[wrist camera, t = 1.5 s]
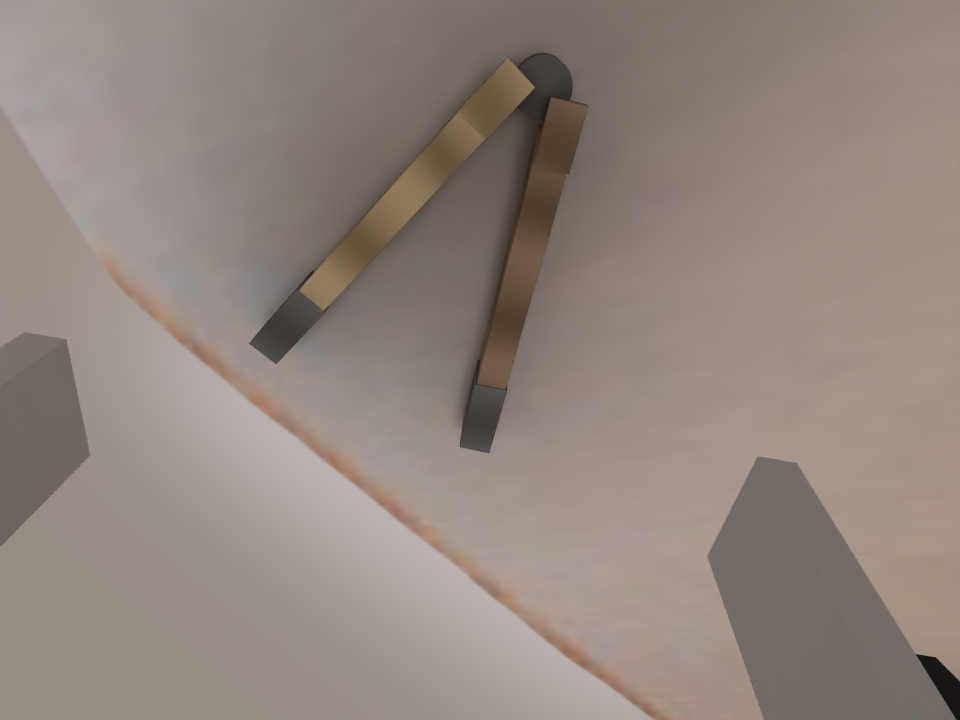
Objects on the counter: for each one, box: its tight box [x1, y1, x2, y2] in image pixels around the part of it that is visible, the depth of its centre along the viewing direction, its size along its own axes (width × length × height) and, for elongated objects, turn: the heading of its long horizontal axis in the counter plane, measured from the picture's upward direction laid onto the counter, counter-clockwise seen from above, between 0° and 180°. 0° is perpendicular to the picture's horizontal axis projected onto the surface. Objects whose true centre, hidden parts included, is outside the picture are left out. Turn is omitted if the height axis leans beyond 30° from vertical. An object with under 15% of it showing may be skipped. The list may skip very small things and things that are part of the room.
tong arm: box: [249, 57, 535, 364], centre depth 33 cm, size 22×2×4 cm, turn 136°
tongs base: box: [460, 53, 588, 453], centre depth 35 cm, size 23×4×4 cm, turn 168°
